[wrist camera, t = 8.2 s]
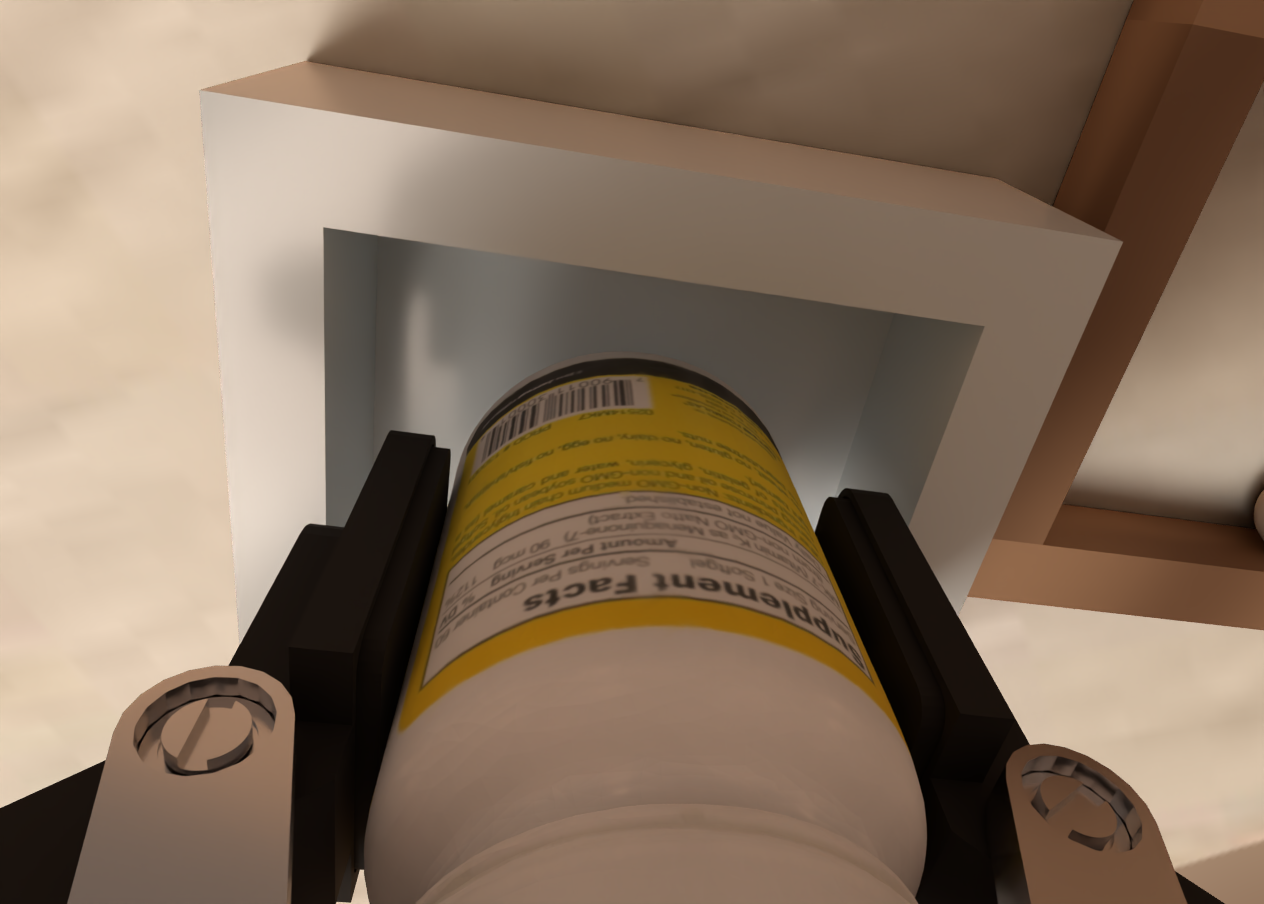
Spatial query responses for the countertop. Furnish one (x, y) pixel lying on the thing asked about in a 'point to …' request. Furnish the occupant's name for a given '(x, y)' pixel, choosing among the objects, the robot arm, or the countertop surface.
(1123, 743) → the countertop surface
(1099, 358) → the tray
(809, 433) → the grey square open box
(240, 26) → the countertop surface
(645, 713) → the supplement bottle
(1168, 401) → the countertop surface
